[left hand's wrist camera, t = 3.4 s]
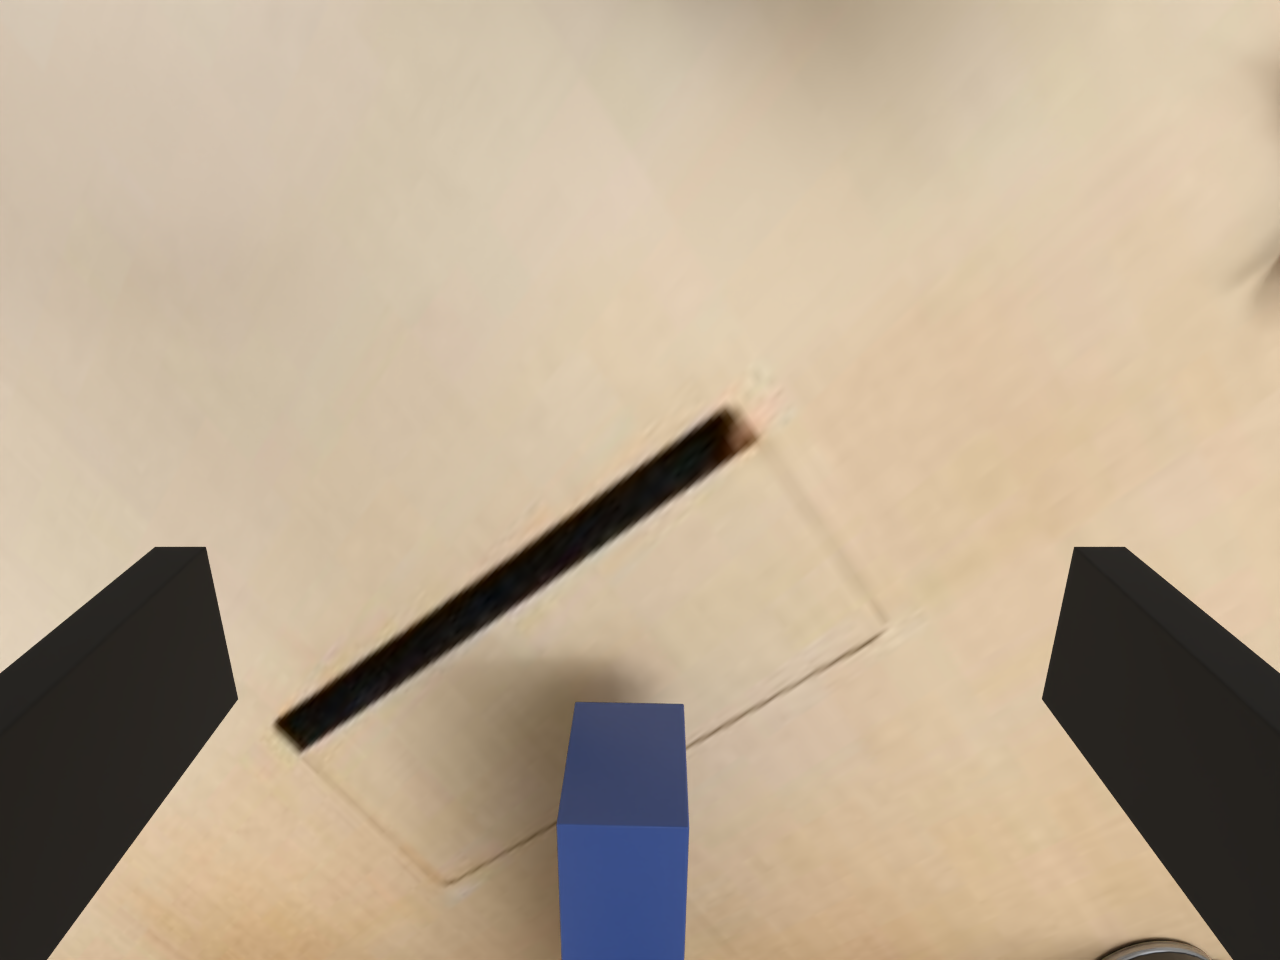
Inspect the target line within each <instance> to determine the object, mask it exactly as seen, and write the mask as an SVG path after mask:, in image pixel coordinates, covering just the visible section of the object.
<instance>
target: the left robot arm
mask: <svg viewBox="0 0 1280 960" xmlns="http://www.w3.org/2000/svg"><path fill="white" fill-rule="evenodd" d="M237 700H238V696H237V692H236V687H235V682H234V678H233V673H232V668H231V663H230V659H229V654H228V649H227V645H226V640H225V635H224V630H223V626H222V621H221V616H220V612H219V607H218V602H217V597H216V593H215V588H214V583H213V579H212V574H211V569H210V564H209V560H208V555H207V550H206V547H154V548H153V549H152V550H151V551H150V552H148V553H147V554H146V555H145V556H143V557H142V558H141V559H140V560H139V561H137V562H136V563H135V564H134V565H132V566H131V567H130V568H129V569H128V570H126V571H125V572H124V573H123V574H121V575H120V576H119V577H118V578H116V579H115V580H114V581H113V582H112V583H110V584H109V585H108V586H107V587H105V588H104V589H103V590H102V591H101V592H99V593H98V594H97V595H96V596H94V597H93V598H92V599H91V600H90V601H88V602H87V603H86V604H85V605H83V606H82V607H81V608H80V609H79V610H77V611H76V612H75V613H74V614H72V615H71V616H70V617H69V618H67V619H66V620H65V621H64V622H63V623H61V624H60V625H59V626H58V627H56V628H55V629H54V630H53V631H52V632H50V633H49V634H48V635H47V636H45V637H44V638H43V639H42V640H41V641H39V642H38V643H37V644H36V645H34V646H33V647H32V648H31V649H30V650H28V651H27V652H26V653H25V654H23V655H22V656H21V657H20V658H18V659H17V660H16V661H15V662H14V663H12V664H11V665H10V666H9V667H7V668H6V669H5V670H4V671H3V672H1V673H0V960H47V959H48V957H49V956H50V955H51V953H52V952H53V951H54V949H55V948H56V947H57V945H58V944H59V942H60V941H61V940H62V938H63V937H64V936H65V934H66V933H67V932H68V930H69V929H70V927H71V926H72V925H73V923H74V922H75V921H76V919H77V918H78V917H79V915H80V914H81V912H82V911H83V910H84V908H85V907H86V906H87V904H88V903H89V902H90V900H91V899H92V898H93V896H94V895H95V893H96V892H97V891H98V889H99V888H100V887H101V885H102V884H103V883H104V881H105V880H106V878H107V877H108V876H109V874H110V873H111V872H112V870H113V869H114V868H115V866H116V865H117V863H118V862H119V861H120V859H121V858H122V857H123V855H124V854H125V853H126V851H127V850H128V848H129V847H130V846H131V844H132V843H133V842H134V840H135V839H136V838H137V836H138V835H139V833H140V832H141V831H142V829H143V828H144V827H145V825H146V824H147V823H148V821H149V820H150V818H151V817H152V816H153V814H154V813H155V812H156V810H157V809H158V808H159V806H160V805H161V803H162V802H163V801H164V799H165V798H166V797H167V795H168V794H169V793H170V791H171V790H172V788H173V787H174V786H175V784H176V783H177V782H178V780H179V779H180V778H181V776H182V775H183V773H184V772H185V771H186V769H187V768H188V767H189V765H190V764H191V763H192V761H193V760H194V758H195V757H196V756H197V754H198V753H199V752H200V750H201V749H202V748H203V746H204V745H205V743H206V742H207V741H208V739H209V738H210V737H211V735H212V734H213V733H214V731H215V730H216V728H217V727H218V726H219V724H220V723H221V722H222V720H223V719H224V718H225V716H226V715H227V713H228V712H229V711H230V709H231V708H232V707H233V705H234V704H235V703H236V701H237ZM1042 700H1043V701H1044V703H1045V704H1046V705H1047V707H1048V708H1049V709H1050V711H1051V712H1052V713H1053V715H1054V716H1055V718H1056V719H1057V720H1058V722H1059V723H1060V724H1061V726H1062V727H1063V728H1064V730H1065V731H1066V733H1067V734H1068V735H1069V737H1070V738H1071V739H1072V741H1073V742H1074V743H1075V745H1076V746H1077V748H1078V749H1079V750H1080V752H1081V753H1082V754H1083V756H1084V757H1085V758H1086V760H1087V761H1088V763H1089V764H1090V765H1091V767H1092V768H1093V769H1094V771H1095V772H1096V773H1097V775H1098V776H1099V778H1100V779H1101V780H1102V782H1103V783H1104V784H1105V786H1106V787H1107V788H1108V790H1109V791H1110V793H1111V794H1112V795H1113V797H1114V798H1115V799H1116V801H1117V802H1118V803H1119V805H1120V806H1121V808H1122V809H1123V810H1124V812H1125V813H1126V814H1127V816H1128V817H1129V818H1130V820H1131V821H1132V823H1133V824H1134V825H1135V827H1136V828H1137V829H1138V831H1139V832H1140V833H1141V835H1142V836H1143V838H1144V839H1145V840H1146V842H1147V843H1148V844H1149V846H1150V847H1151V848H1152V850H1153V851H1154V853H1155V854H1156V855H1157V857H1158V858H1159V859H1160V861H1161V862H1162V863H1163V865H1164V866H1165V868H1166V869H1167V870H1168V872H1169V873H1170V874H1171V876H1172V877H1173V878H1174V880H1175V881H1176V883H1177V884H1178V885H1179V887H1180V888H1181V889H1182V891H1183V892H1184V893H1185V895H1186V896H1187V898H1188V899H1189V900H1190V902H1191V903H1192V904H1193V906H1194V907H1195V908H1196V910H1197V911H1198V912H1199V914H1200V915H1201V917H1202V918H1203V919H1204V921H1205V922H1206V923H1207V925H1208V926H1209V927H1210V929H1211V930H1212V932H1213V933H1214V934H1215V936H1216V937H1217V938H1218V940H1219V941H1220V942H1221V944H1222V945H1223V947H1224V948H1225V949H1226V951H1227V952H1228V953H1229V955H1230V956H1231V957H1232V959H1233V960H1280V673H1279V672H1277V671H1276V670H1275V669H1274V668H1273V667H1271V666H1270V665H1269V664H1268V663H1266V662H1265V661H1264V660H1263V659H1262V658H1260V657H1259V656H1258V655H1257V654H1255V653H1254V652H1253V651H1252V650H1250V649H1249V648H1248V647H1247V646H1246V645H1244V644H1243V643H1242V642H1241V641H1239V640H1238V639H1237V638H1236V637H1235V636H1233V635H1232V634H1231V633H1230V632H1228V631H1227V630H1226V629H1225V628H1224V627H1222V626H1221V625H1220V624H1219V623H1217V622H1216V621H1215V620H1214V619H1213V618H1211V617H1210V616H1209V615H1208V614H1206V613H1205V612H1204V611H1203V610H1201V609H1200V608H1199V607H1198V606H1197V605H1195V604H1194V603H1193V602H1192V601H1190V600H1189V599H1188V598H1187V597H1186V596H1184V595H1183V594H1182V593H1181V592H1179V591H1178V590H1177V589H1176V588H1175V587H1173V586H1172V585H1171V584H1170V583H1168V582H1167V581H1166V580H1165V579H1164V578H1162V577H1161V576H1160V575H1159V574H1157V573H1156V572H1155V571H1154V570H1152V569H1151V568H1150V567H1149V566H1148V565H1146V564H1145V563H1144V562H1143V561H1141V560H1140V559H1139V558H1138V557H1137V556H1135V555H1134V554H1133V553H1132V552H1130V551H1129V550H1128V549H1127V548H1126V547H1074V550H1073V555H1072V560H1071V564H1070V569H1069V574H1068V579H1067V583H1066V588H1065V593H1064V597H1063V602H1062V607H1061V612H1060V616H1059V621H1058V626H1057V630H1056V635H1055V640H1054V645H1053V649H1052V654H1051V659H1050V663H1049V668H1048V673H1047V678H1046V682H1045V687H1044V692H1043V696H1042Z"/></svg>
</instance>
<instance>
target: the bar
mask: <svg viewBox="0 0 1280 960" xmlns="http://www.w3.org/2000/svg"><path fill="white" fill-rule="evenodd" d="M688 844H689V813H688V790H687V767H686V744H685V721H684V705H683V704H656V703H606V702H576V703H575V707H574V714H573V720H572V727H571V733H570V740H569V746H568V753H567V759H566V766H565V773H564V779H563V786H562V792H561V799H560V805H559V812H558V818H557V851H558V877H559V904H560V930H561V957H562V960H684V951H685V924H686V897H687V871H688Z"/></svg>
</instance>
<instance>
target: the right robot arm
mask: <svg viewBox="0 0 1280 960" xmlns="http://www.w3.org/2000/svg"><path fill="white" fill-rule="evenodd" d="M1102 960H1212V959H1211V958H1210V957H1209V956H1208V955H1207V954H1206V953H1204V952H1203V951H1201V950H1200V949H1198V948H1196V947H1194V946H1191V945H1188V944H1185V943H1180V942H1174V941H1151V942H1144V943H1139V944H1135V945H1132V946H1128V947H1125V948H1123V949H1120V950H1118V951H1116V952H1114V953H1112V954H1110V955H1108V956H1106V957H1105V958H1103V959H1102Z"/></svg>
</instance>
